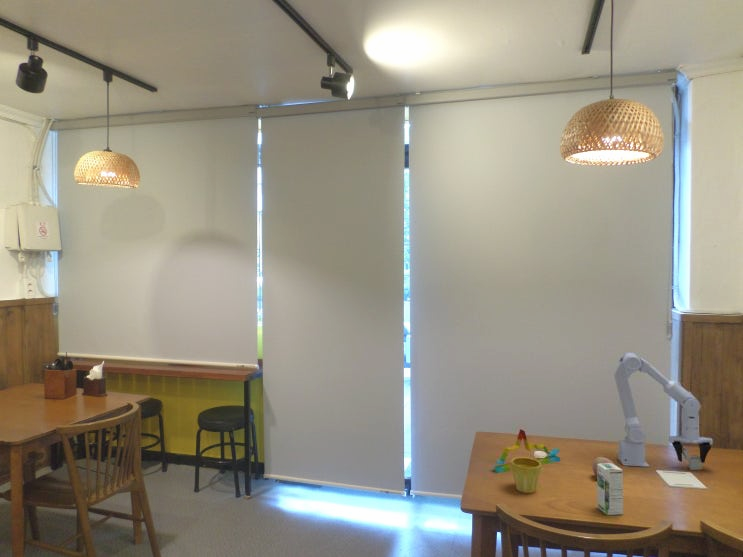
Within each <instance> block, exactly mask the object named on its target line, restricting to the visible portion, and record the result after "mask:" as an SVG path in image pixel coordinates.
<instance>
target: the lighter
mask: <svg viewBox="0 0 743 557" xmlns="http://www.w3.org/2000/svg"><path fill="white" fill-rule="evenodd" d="M682 456H683V457H684V459H685V460H687V461H688V469H689V470H691V471H698V470H700V471H701V470H702V468H703V467H702V464H703V463H702V462H701V458H700V456H699V455H697V454H692V455H691V456H690V454H689V452H688V450H687V449H686V448H684V447H683V448H682Z"/></svg>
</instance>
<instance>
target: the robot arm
mask: <svg viewBox="0 0 743 557" xmlns="http://www.w3.org/2000/svg"><path fill="white" fill-rule="evenodd" d="M635 372H640V373H644V374H645V373H646V374H647V375H649V377H651V378H653V379H654V380H655V381H656V382H657V383H659V384H660V385H661V386H662V387H663V388H662V389H663V392H664V393H666V395H667V396H669V397H670V398H671V399H673V401H675V402H676V403H679V405H680V406H681V415H680V416H681V435H669V436H668V440H669V442H670V443H671V444H672V447H673V448H674V450H675V453H676V456H677V460H678V461H679V462H680V463H681V462H683V453H682V449H683V448H684V446H683V445H682V443H686V444H698V446H699V457H700V458H701V463H702V464H705V462H706V459H707V455H708V453H709V452H710V450H711V448H712V445H713V444H714V443H713V442H714V439H712V438H711V437H705V436H700V415H699V413H700V412H699V411H700V410H701V408H702V406H701V403H700V401H699V400H698V399H697V398H696V397H695V396H694V395H693V393H692V392H691V391H688V390H687V389H685V387H683V386H682V384H681V382H680V381H676V380H669V379H668V378H666V376H664V375H663V374H662V373H661V372H660V371H659V370H658V369H657V368H655V366H653V364H652V363H650V362H648V361H647V360H645V358H642V357H640V356H638V354H637V353H635V352H632V351H628V352H626V353H624V354H623V355H622V356H620V358H619V359H618V363H617V366H616V367H615V369H614V372H613V376H614V380H615V381H614V382H615V384H616V387H617V391H618V395H619V400H620V404H621V409H622V412H623V416H624V421H625V425H624V430H625V433H626V436H625V437H624V439H620V440H618V446H617V449H618V453H617V454H618V457H617V459H618V460H619V462H620V463H621V464H622V465H623V466H630V467H644V468H645V467H646V468H647V467H648V468H649V467H650V465H649V464H648V462H647V461H646V440H645V439H646V434H645V431H644V430H643V427H642V426H641V424H640V422H639V421H640V420H639V418H638V415H637V410H636V406H635V402H634V399H633V395H632V391H631V388H630V383H629V380H628V379H629V378H630V377H631V375H633V374H634V373H635Z"/></svg>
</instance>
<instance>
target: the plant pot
mask: <svg viewBox="0 0 743 557" xmlns="http://www.w3.org/2000/svg"><path fill="white" fill-rule="evenodd" d="M510 463H511V471H510V472H511V473H513V479H514V483H515V488H516V490H517V491H519V492H520V493H524V494H525V493H526V494H532V493H535V492H536V490H537V484H538V481H539V477H540V475H541V473H542V464H541V463H540V462H539V461H537V460H535V459H534V458H531V457H528V456H527V457H526V456H518V457H514V458H512V459H511V460H510Z"/></svg>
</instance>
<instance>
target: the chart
mask: <svg viewBox="0 0 743 557" xmlns="http://www.w3.org/2000/svg"><path fill="white" fill-rule="evenodd" d="M522 441H523V444H524V448H525V450H527V451H529V452H531V450H532V449H533V448H535V449H536V450H537V451H542V450H543V451H544V452H545V454H547V456H546V457H545V456H544V457H545V458H540V457H536V458H533V459H535V460H537V461H539V462H540V463H541V465H546V464H550V463H556V462H560V461H561V457H560V456H559V455H557V454H558V453H559V452H560V451H561V450H560V449H559V448H557V447H554V449H552V450H551V451H549V449H548V448H547V446H546V445H545V444H543V443H542V442H540V443H539V444H538V445H537V444H536V443H535V442H532V441H530V442H528V438H527V434H526V432H525V430H523V429H519V432H518V435H517V438H516V441H515V444H513V445H512V446H511V447H509V446H507V447H504V449H503V452H502V454H501V457H500V459H498V460H497V459H496V460H494V462H495V463H496V464H497V465H494V466H493V471H495V472H496V473H498V474H500V473H505V472H512V471H511V462H509V463H505V462H506V460H507V457H508V454H509V452H510V451H514V452H515V451H516V450H518V449H519V448H520V446H521V444H522Z"/></svg>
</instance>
